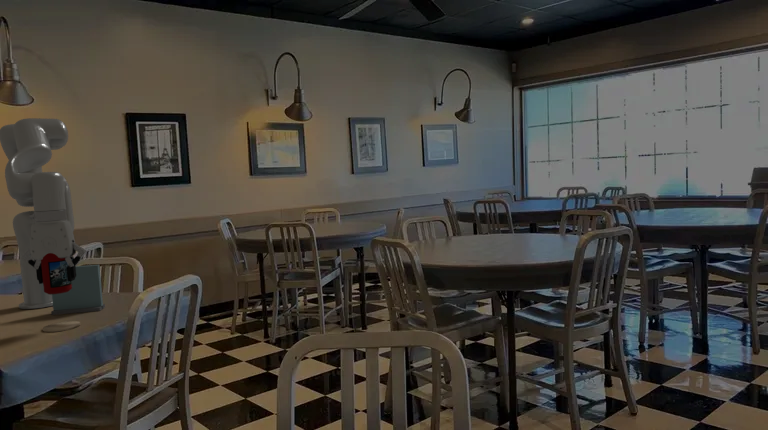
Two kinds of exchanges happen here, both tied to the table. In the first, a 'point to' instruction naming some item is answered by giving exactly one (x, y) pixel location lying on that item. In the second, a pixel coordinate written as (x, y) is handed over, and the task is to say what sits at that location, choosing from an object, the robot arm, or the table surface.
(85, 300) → the screen
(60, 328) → the coaster
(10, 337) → the table surface
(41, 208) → the robot arm
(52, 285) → the beverage can
